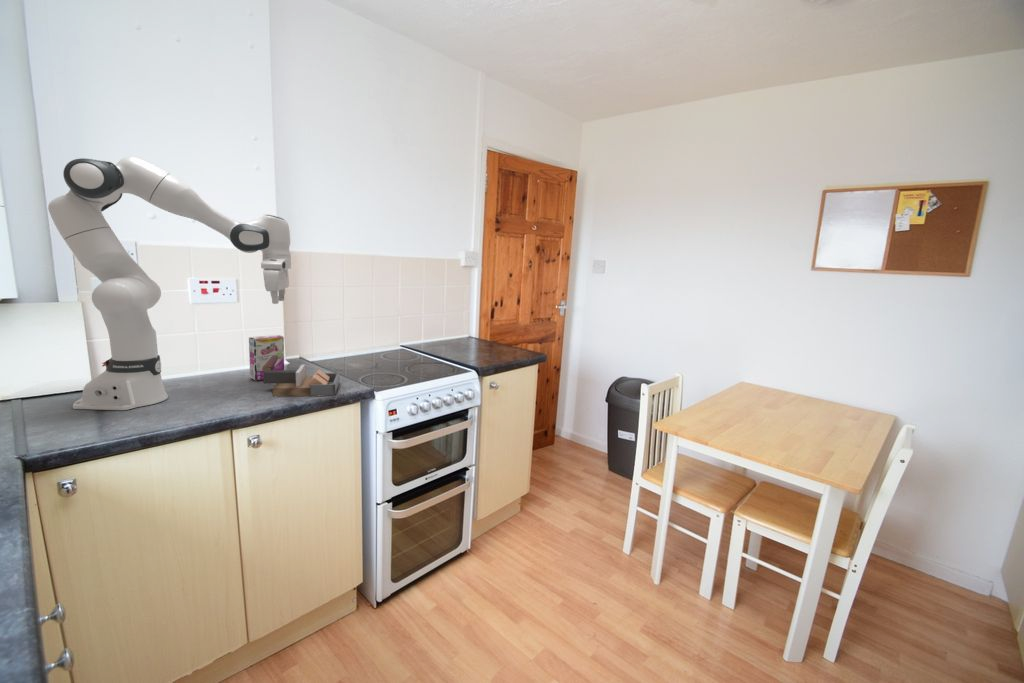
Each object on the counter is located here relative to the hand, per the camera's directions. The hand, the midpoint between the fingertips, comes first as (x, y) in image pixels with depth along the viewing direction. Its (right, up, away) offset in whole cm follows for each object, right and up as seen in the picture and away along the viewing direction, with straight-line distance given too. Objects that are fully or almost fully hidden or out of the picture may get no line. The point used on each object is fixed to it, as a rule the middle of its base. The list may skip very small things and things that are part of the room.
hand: (278, 302), depth 159 cm
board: (+5, -32, +2) cm, 32 cm away
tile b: (+11, -29, +6) cm, 32 cm away
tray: (+15, -32, +5) cm, 35 cm away
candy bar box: (-12, -29, +14) cm, 34 cm away
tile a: (+13, -30, 0) cm, 33 cm away
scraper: (+1, -29, 0) cm, 29 cm away
